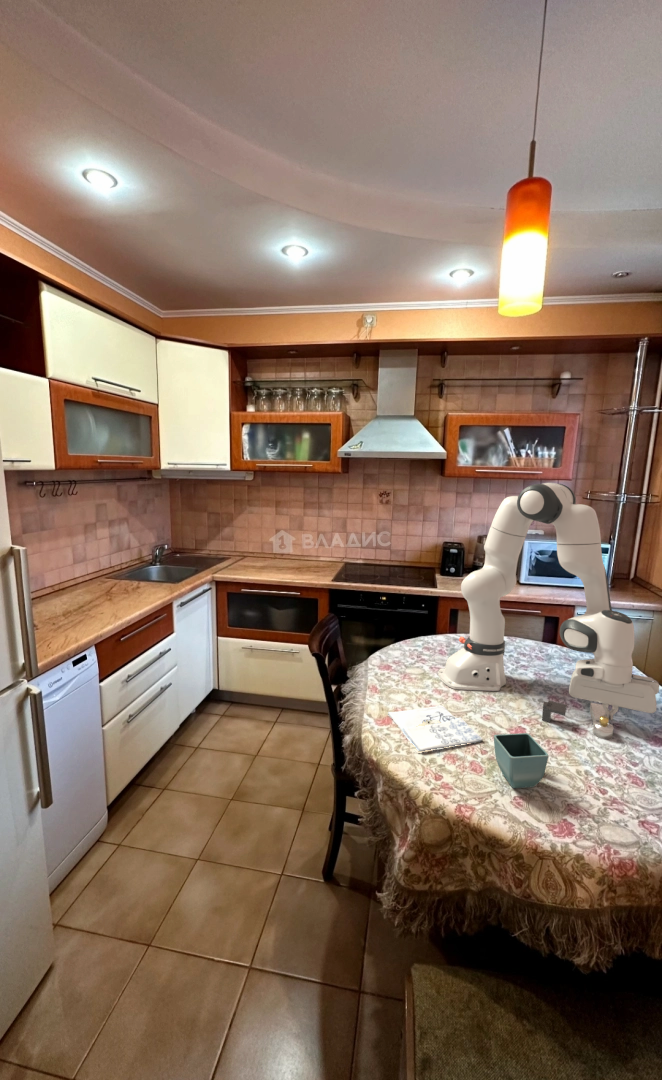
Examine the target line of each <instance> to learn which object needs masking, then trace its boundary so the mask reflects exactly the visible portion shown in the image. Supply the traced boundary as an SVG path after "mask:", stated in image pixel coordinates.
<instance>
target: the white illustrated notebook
mask: <svg viewBox="0 0 662 1080" xmlns="http://www.w3.org/2000/svg"><path fill="white" fill-rule="evenodd" d="M387 715H388V717H389V718H390V717H391V718H392V719H393V720H392V719H391V718H390V719H391V720H392V721H393V723H395V725H396V724H397V725H398V726H397V725H396V726H397V727H398V729H399V728H400V729H401V730H400V729H399V730H400V731H402V732H403V733H402V732H401V733H402V734H403V736H404V735H405V736H406V737H405V736H404V737H405V739H406V738H407V739H408V740H409V741H410V743H412V744H413V745H414V746H415V747H416V749H417V750H418V751H425V750H431V749H437V748H444V747H449V746H455V745H461V744H467V743H474V744H477V743H476V742H479V743H481V741H484V738H482V737H481V735H480V734H478V733H477V732H476V731H475V730H474V729H473V728H472V727H471V726H470V725H469V724H468V723H467V721H465V720H464V719H463V717H460V716H459V717H455V716H454V715H453V714H452V713H451V712H450V711H449V710H448V709H447V708H446V707H445V706H443V705H442V704H439V705H433V706H429V707H423V708H413V709H406V710H400V711H399V710H398V711H388V712H387ZM426 720H428V721H429V720H439V721H440V722H441V723H437V724H435V723H431V724H427V725H425V726H418V725H419V724H422V723H423V721H424V722H426ZM416 726H418V727H416ZM407 739H406V740H407ZM408 740H407V741H408ZM409 741H408V742H409ZM410 743H409V744H410Z"/></svg>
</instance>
